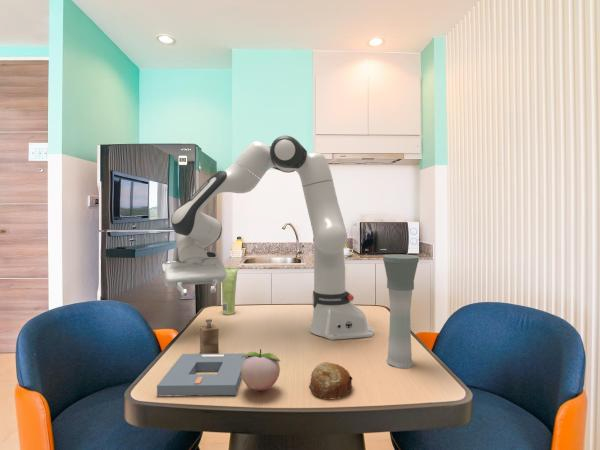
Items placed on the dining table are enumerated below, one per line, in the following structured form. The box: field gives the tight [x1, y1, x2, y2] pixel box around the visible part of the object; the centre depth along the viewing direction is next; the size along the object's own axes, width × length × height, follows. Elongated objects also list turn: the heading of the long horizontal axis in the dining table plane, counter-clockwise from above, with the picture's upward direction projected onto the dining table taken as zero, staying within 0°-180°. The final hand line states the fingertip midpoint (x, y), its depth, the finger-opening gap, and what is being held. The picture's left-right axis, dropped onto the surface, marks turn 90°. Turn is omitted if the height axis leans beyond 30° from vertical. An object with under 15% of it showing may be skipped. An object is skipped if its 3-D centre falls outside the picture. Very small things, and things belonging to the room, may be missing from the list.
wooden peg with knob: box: [199, 318, 220, 354], centre depth 103 cm, size 4×4×10 cm
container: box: [382, 253, 420, 369], centre depth 97 cm, size 10×10×30 cm
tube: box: [221, 266, 239, 316], centre depth 145 cm, size 6×5×20 cm
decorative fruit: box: [241, 349, 281, 392], centre depth 81 cm, size 9×8×10 cm
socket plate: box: [156, 352, 247, 396], centre depth 88 cm, size 18×18×3 cm
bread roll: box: [308, 361, 353, 400], centre depth 83 cm, size 10×10×8 cm
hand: (199, 293), depth 114 cm, fingers open, 8 cm apart
